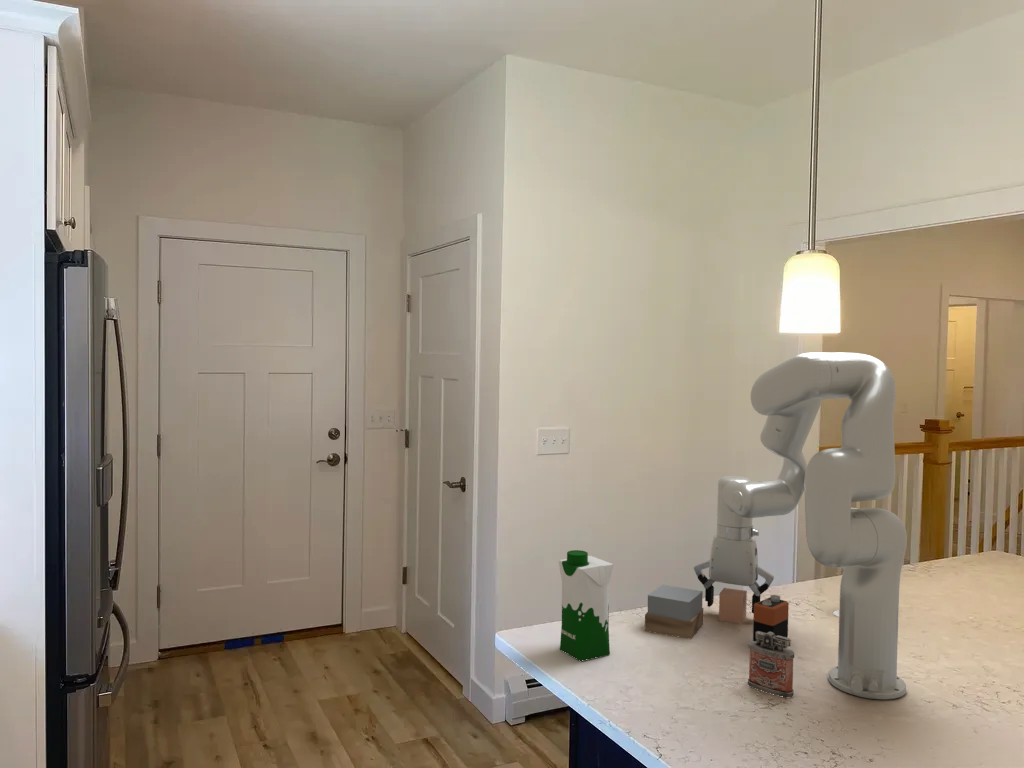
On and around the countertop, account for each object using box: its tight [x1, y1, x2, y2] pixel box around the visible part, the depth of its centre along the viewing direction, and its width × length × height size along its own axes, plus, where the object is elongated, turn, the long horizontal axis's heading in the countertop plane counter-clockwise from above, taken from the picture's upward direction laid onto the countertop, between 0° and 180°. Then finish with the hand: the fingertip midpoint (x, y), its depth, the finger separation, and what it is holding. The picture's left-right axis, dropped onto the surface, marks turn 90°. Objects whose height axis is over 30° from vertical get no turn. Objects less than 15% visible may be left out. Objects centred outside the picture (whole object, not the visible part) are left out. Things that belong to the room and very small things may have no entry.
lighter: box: [747, 631, 795, 698], centre depth 137 cm, size 8×3×10 cm, turn 47°
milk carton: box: [558, 549, 614, 662], centre depth 153 cm, size 9×9×20 cm
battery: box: [752, 594, 790, 648], centre depth 157 cm, size 4×7×10 cm, turn 134°
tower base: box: [644, 607, 704, 640], centre depth 168 cm, size 10×10×4 cm
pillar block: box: [718, 587, 748, 625], centre depth 174 cm, size 5×5×6 cm
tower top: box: [647, 584, 704, 621], centre depth 167 cm, size 9×9×4 cm
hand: (732, 608), depth 174 cm, fingers open, 9 cm apart
